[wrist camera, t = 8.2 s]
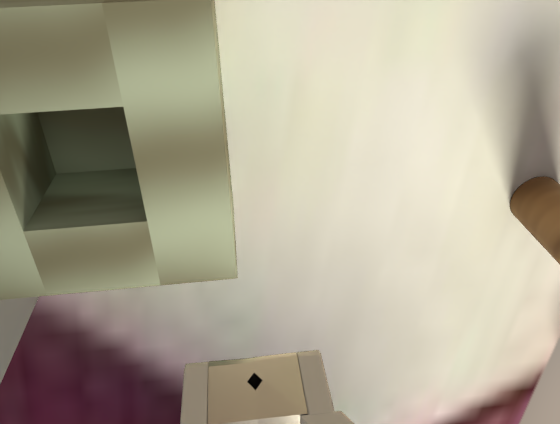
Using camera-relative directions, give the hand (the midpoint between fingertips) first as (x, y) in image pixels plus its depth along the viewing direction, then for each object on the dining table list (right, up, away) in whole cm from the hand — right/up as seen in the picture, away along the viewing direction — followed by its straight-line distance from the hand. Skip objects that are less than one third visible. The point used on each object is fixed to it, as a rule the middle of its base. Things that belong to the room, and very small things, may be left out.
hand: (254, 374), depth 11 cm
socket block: (-8, +8, +13) cm, 17 cm away
